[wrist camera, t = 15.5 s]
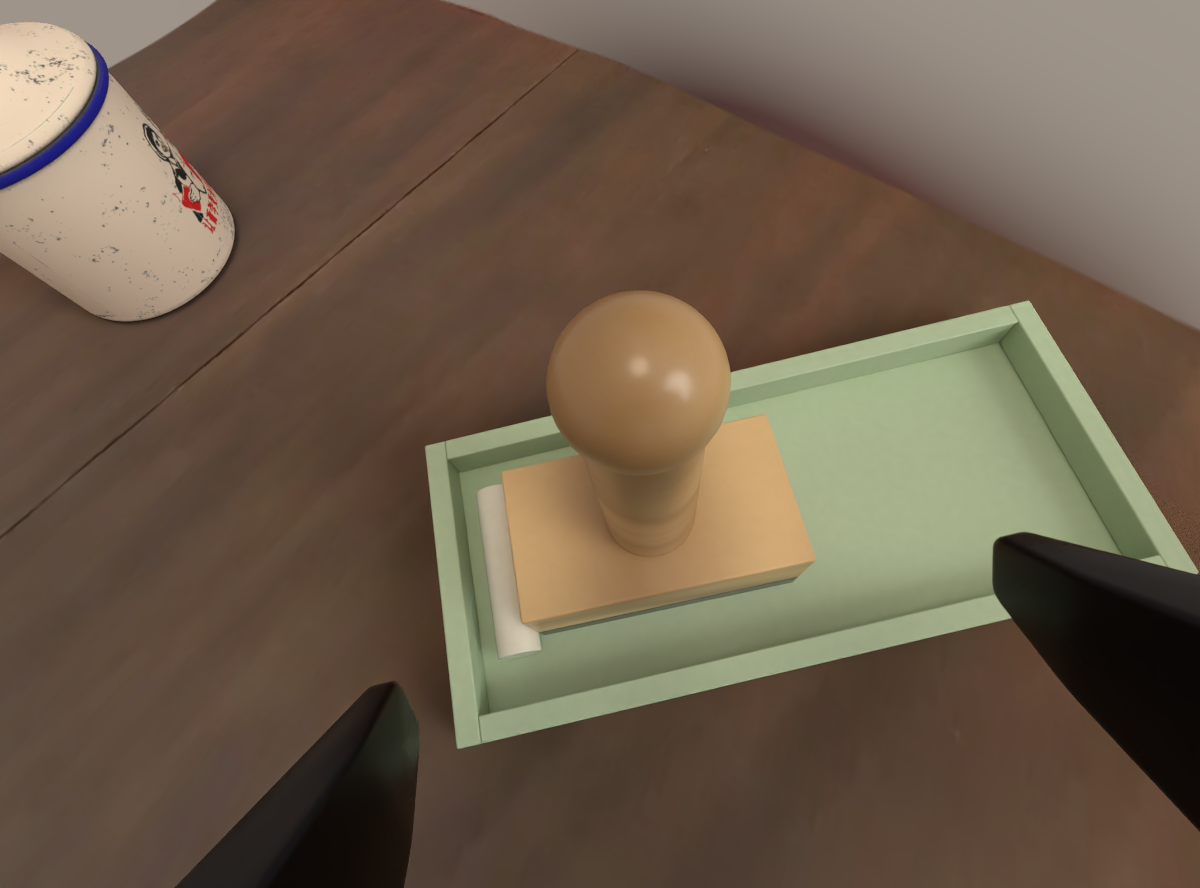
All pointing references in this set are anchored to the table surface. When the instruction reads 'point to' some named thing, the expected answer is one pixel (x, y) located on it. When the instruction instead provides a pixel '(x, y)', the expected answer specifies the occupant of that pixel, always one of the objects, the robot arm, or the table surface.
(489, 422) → the table surface
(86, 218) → the teacup with lid
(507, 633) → the chalk
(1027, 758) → the table surface
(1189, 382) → the table surface
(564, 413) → the wooden rubber stamp
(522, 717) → the tray
